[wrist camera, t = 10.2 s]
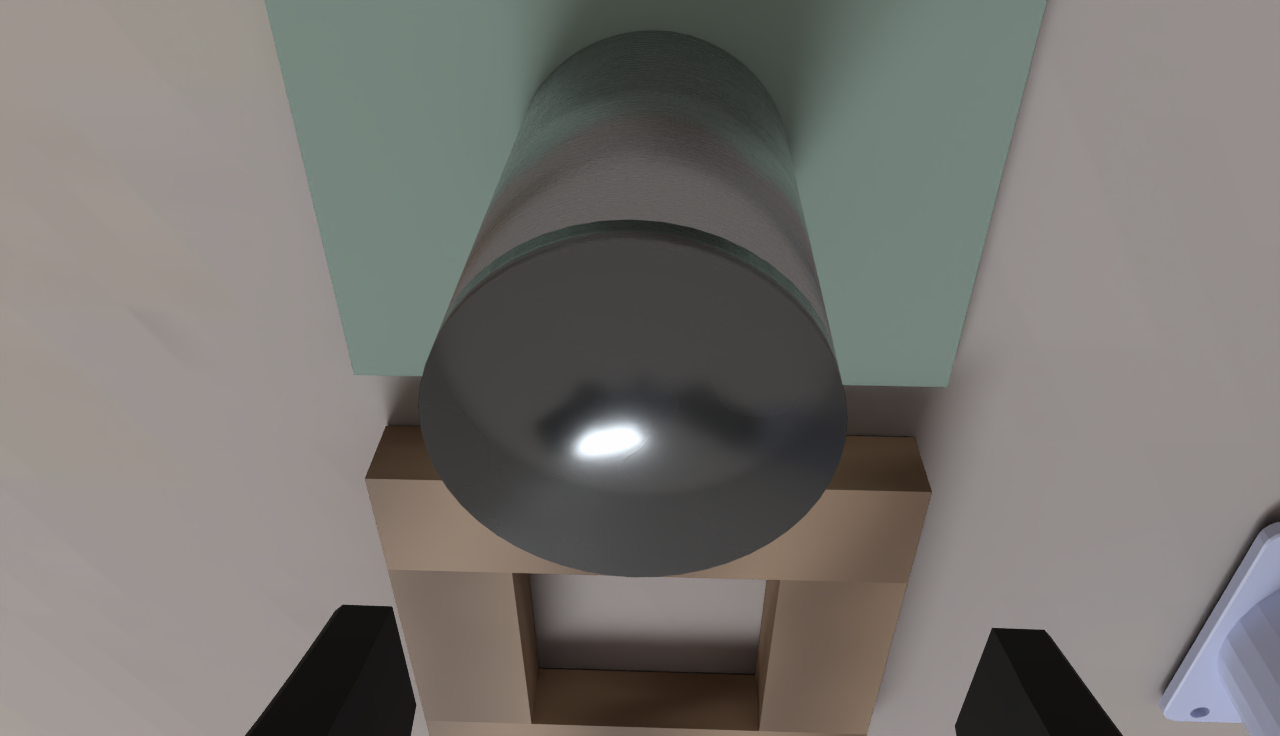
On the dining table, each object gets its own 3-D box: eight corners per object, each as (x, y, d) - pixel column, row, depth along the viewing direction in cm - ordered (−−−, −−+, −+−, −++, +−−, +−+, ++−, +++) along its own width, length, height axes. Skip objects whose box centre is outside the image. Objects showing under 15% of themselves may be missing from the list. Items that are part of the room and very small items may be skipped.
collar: (914, 437, 21) (931, 492, 19) (842, 734, 28) (851, 790, 27) (385, 425, 21) (364, 478, 20) (452, 722, 29) (439, 777, 27)
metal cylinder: (801, 31, 15) (877, 251, 9) (776, 286, 18) (821, 583, 12) (506, 28, 15) (384, 242, 9) (528, 282, 18) (449, 571, 12)
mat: (1072, -141, 14) (1082, -138, 14) (942, 375, 20) (947, 387, 20) (241, -144, 14) (231, -140, 14) (359, 364, 20) (354, 375, 20)
